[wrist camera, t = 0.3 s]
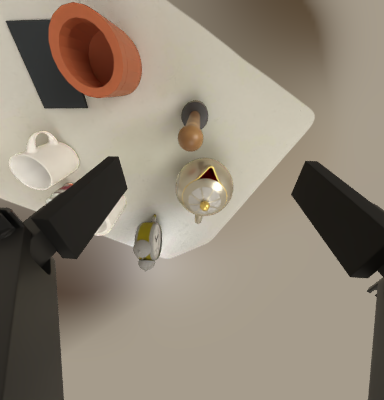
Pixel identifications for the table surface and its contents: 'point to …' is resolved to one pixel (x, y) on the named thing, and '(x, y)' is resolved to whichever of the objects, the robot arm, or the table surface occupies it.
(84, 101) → the mat
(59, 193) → the pill bottle
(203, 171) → the teapot
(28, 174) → the mug
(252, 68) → the table surface
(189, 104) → the brush
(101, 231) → the mug
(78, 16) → the jar
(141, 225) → the alarm clock
